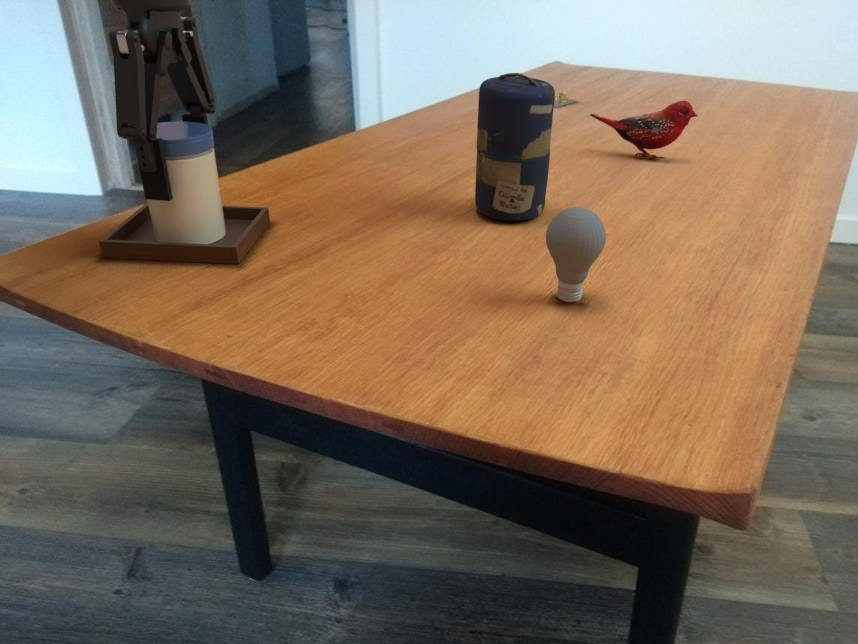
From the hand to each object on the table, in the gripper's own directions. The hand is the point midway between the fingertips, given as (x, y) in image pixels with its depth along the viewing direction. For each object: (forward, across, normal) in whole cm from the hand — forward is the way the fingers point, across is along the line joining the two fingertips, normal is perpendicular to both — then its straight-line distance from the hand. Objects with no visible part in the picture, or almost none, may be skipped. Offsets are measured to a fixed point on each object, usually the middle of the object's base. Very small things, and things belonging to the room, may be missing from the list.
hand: (182, 184), depth 86 cm
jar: (+6, 0, 0) cm, 6 cm away
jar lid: (-6, 0, 0) cm, 6 cm away
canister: (+7, -18, +36) cm, 41 cm away
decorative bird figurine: (+7, -50, +55) cm, 75 cm away
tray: (+7, 0, 0) cm, 7 cm away
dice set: (+7, -92, +39) cm, 100 cm away
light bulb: (+7, +8, +45) cm, 46 cm away
